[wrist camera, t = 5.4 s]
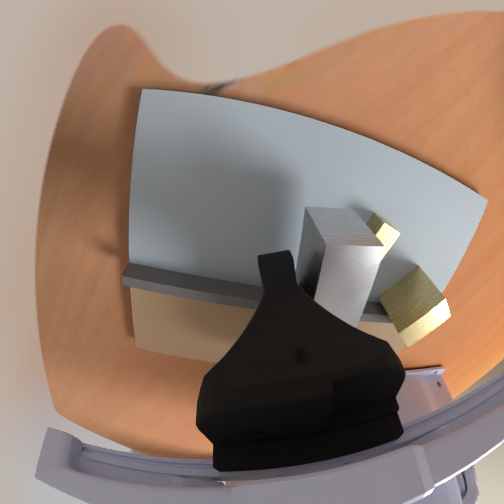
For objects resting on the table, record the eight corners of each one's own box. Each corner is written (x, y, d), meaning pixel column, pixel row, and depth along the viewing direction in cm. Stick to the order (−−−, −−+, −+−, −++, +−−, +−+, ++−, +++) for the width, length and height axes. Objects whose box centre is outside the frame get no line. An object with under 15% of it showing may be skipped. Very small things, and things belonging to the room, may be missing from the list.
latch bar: (314, 369, 16) (325, 417, 13) (270, 371, 16) (275, 422, 12) (361, 210, 10) (403, 257, 7) (295, 205, 10) (317, 255, 7)
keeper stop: (388, 311, 16) (408, 347, 13) (377, 296, 15) (398, 333, 12) (426, 283, 15) (450, 316, 12) (418, 265, 14) (445, 298, 11)
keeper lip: (355, 270, 14) (362, 283, 13) (339, 262, 14) (346, 275, 13) (389, 222, 13) (400, 233, 12) (374, 212, 12) (384, 222, 11)
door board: (480, 195, 13) (500, 208, 11) (381, 363, 20) (388, 381, 19) (148, 89, 10) (132, 87, 8) (138, 339, 18) (131, 361, 16)
